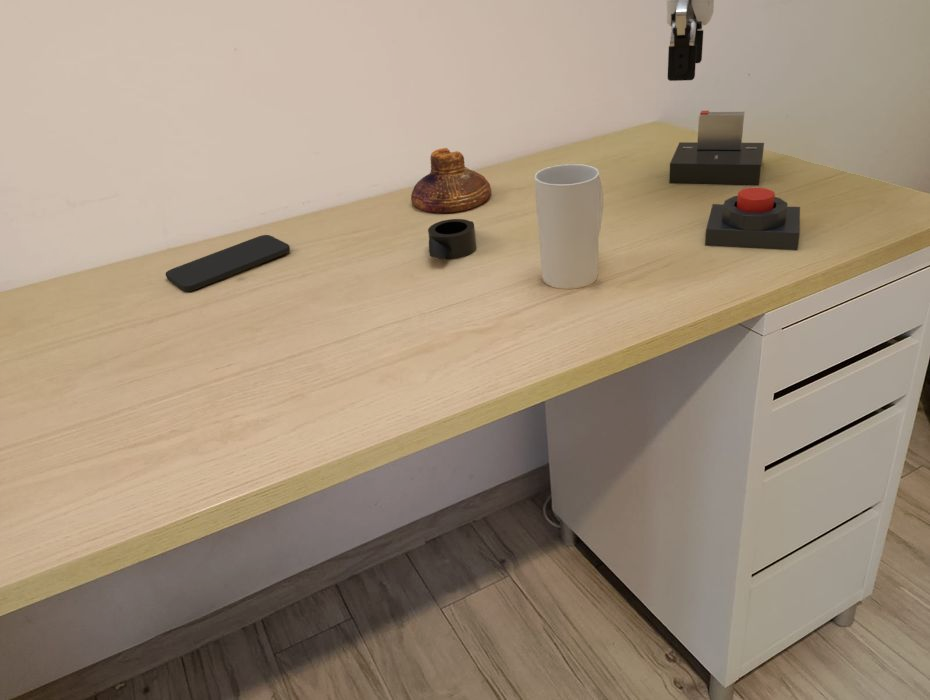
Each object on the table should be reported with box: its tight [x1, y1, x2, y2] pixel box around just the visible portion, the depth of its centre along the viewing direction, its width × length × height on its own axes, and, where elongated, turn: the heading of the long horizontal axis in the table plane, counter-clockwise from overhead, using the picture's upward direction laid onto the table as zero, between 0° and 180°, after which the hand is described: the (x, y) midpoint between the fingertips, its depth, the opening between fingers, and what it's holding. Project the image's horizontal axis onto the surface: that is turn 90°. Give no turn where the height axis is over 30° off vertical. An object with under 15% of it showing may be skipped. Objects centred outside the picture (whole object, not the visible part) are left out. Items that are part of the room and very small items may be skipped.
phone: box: [165, 234, 291, 292], centre depth 97 cm, size 7×1×15 cm
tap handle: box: [697, 110, 745, 150], centre depth 107 cm, size 6×2×5 cm, turn 69°
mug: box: [534, 163, 604, 290], centre depth 82 cm, size 10×7×12 cm, turn 138°
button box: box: [704, 195, 801, 251], centre depth 88 cm, size 10×8×4 cm
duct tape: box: [427, 218, 477, 260], centre depth 94 cm, size 8×10×3 cm
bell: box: [410, 147, 492, 214], centre depth 108 cm, size 12×12×7 cm
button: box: [737, 187, 776, 212], centre depth 86 cm, size 4×4×2 cm
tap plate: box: [668, 141, 765, 187], centre depth 108 cm, size 12×12×3 cm
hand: (685, 71), depth 96 cm, fingers open, 9 cm apart
